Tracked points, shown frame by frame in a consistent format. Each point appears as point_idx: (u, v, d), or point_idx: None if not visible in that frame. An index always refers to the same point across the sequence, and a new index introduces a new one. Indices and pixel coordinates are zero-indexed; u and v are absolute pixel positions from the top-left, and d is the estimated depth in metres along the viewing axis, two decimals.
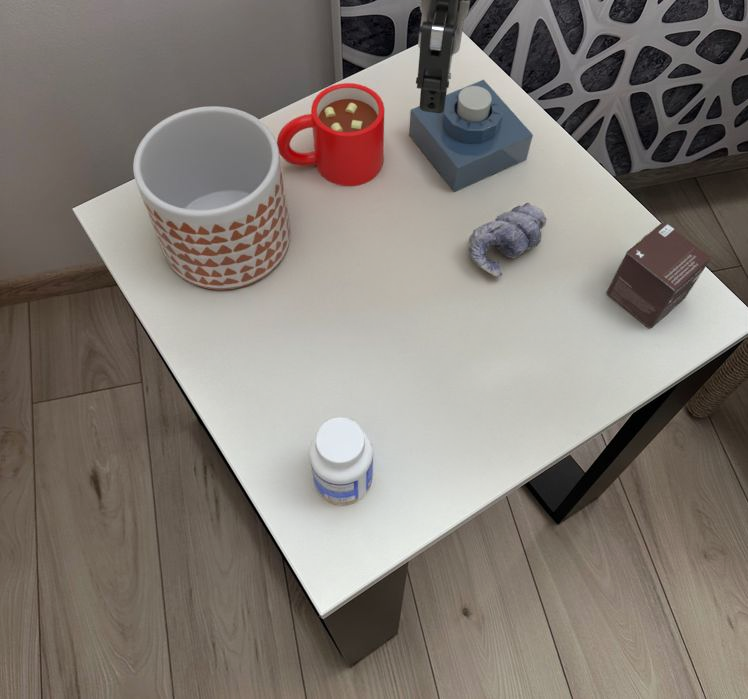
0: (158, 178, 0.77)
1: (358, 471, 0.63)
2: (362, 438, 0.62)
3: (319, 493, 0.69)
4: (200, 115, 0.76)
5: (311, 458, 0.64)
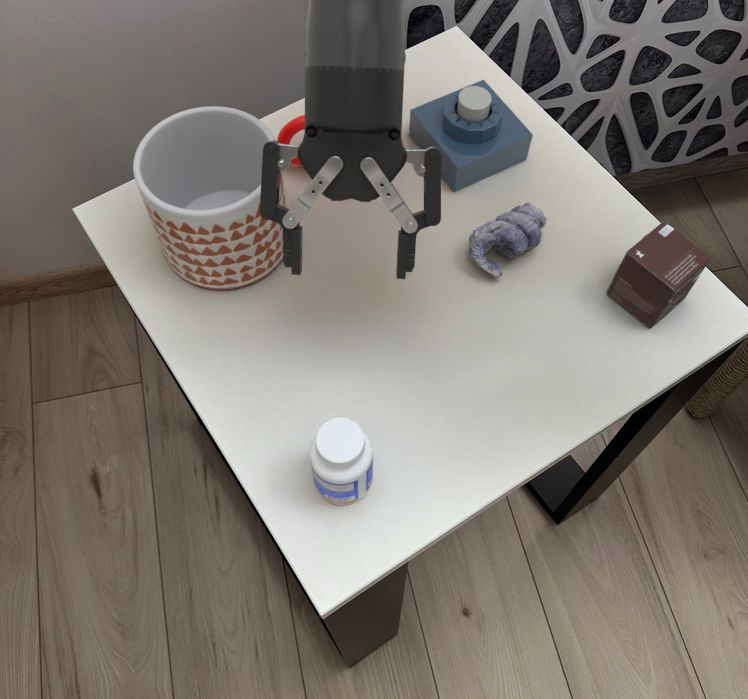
0: (158, 178, 0.77)
1: (358, 471, 0.63)
2: (362, 438, 0.62)
3: (319, 493, 0.69)
4: (200, 115, 0.76)
5: (311, 458, 0.64)
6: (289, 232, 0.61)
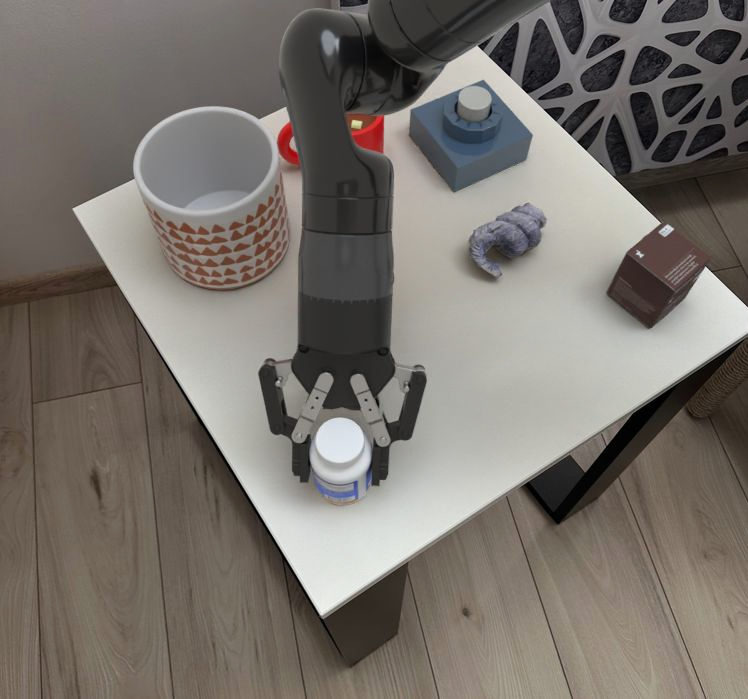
0: (158, 178, 0.77)
1: (357, 471, 0.63)
2: (362, 438, 0.62)
3: (319, 493, 0.69)
4: (200, 115, 0.76)
5: (311, 458, 0.64)
6: (298, 444, 0.64)
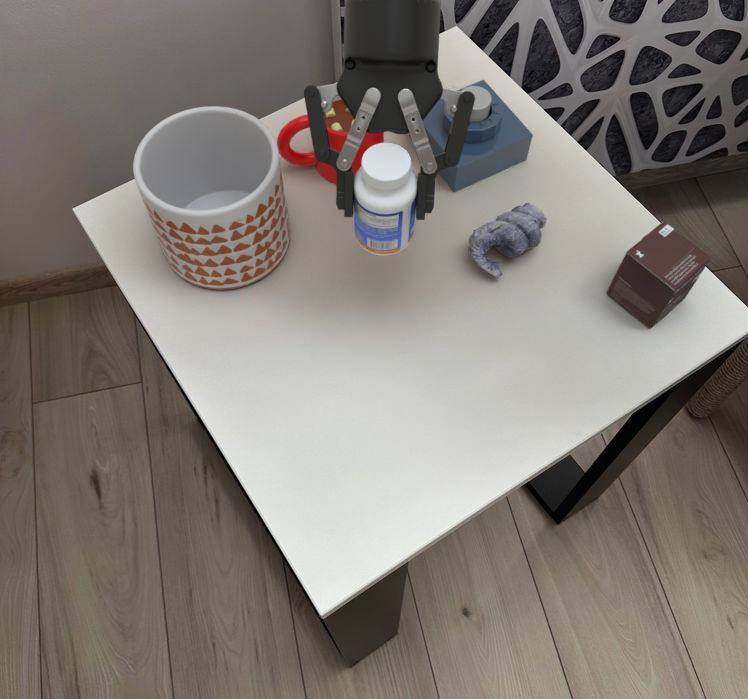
0: (158, 178, 0.77)
1: (403, 198, 0.62)
2: (409, 160, 0.61)
3: (360, 244, 0.68)
4: (200, 115, 0.76)
5: (356, 188, 0.63)
6: (342, 175, 0.63)
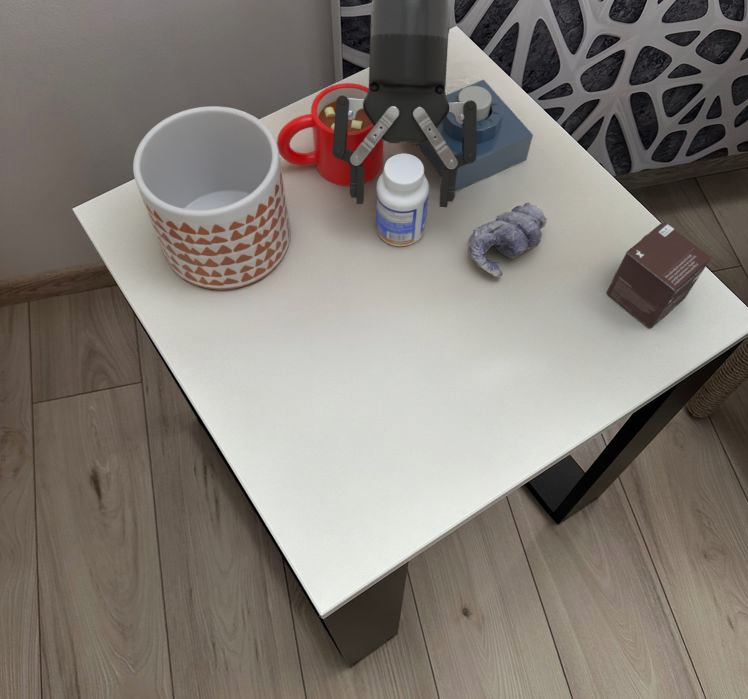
0: (158, 178, 0.77)
1: (417, 198, 0.77)
2: (422, 167, 0.76)
3: (381, 237, 0.83)
4: (200, 115, 0.76)
5: (379, 190, 0.78)
6: (355, 169, 0.77)
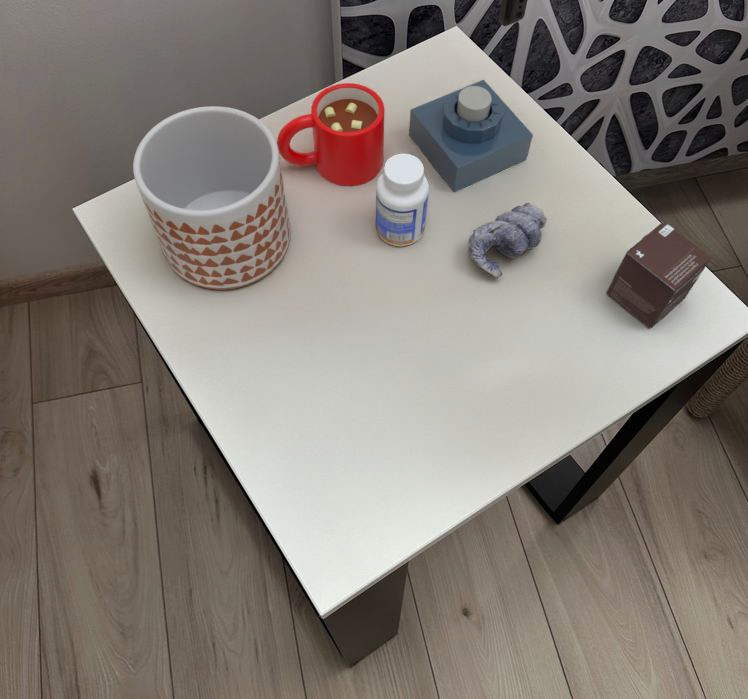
0: (158, 178, 0.77)
1: (417, 198, 0.77)
2: (422, 167, 0.76)
3: (381, 237, 0.83)
4: (200, 115, 0.76)
5: (379, 190, 0.78)
6: None
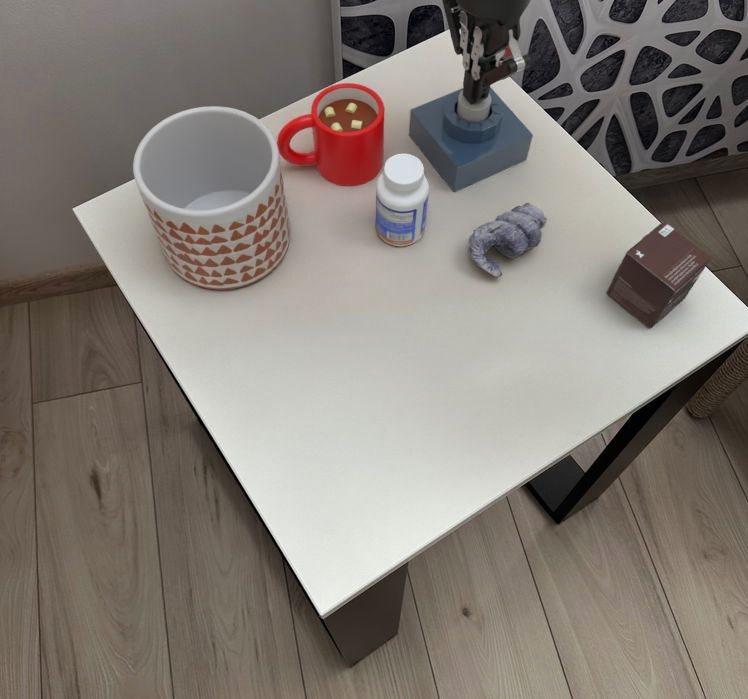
0: (158, 178, 0.77)
1: (417, 198, 0.77)
2: (422, 167, 0.76)
3: (381, 237, 0.83)
4: (200, 115, 0.76)
5: (379, 190, 0.78)
6: None
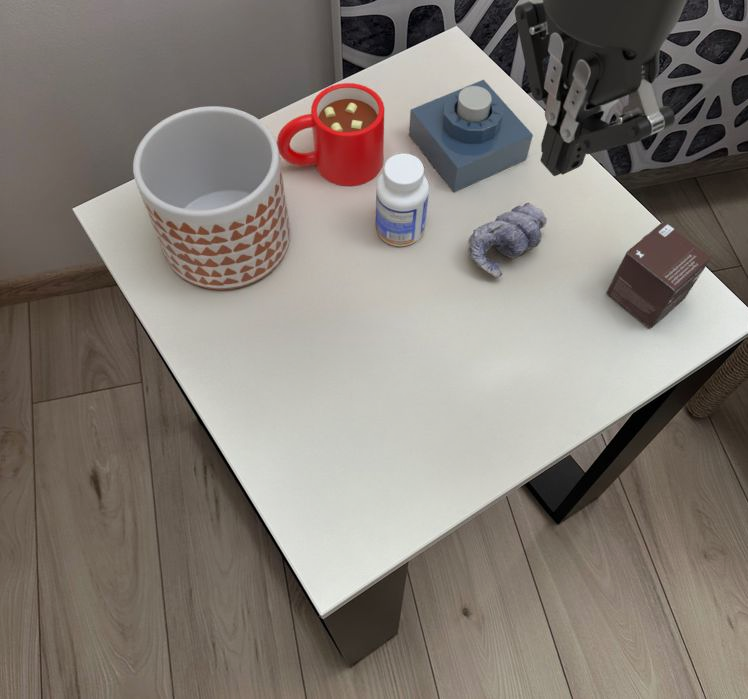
0: (158, 178, 0.77)
1: (417, 198, 0.77)
2: (422, 167, 0.76)
3: (381, 237, 0.83)
4: (200, 115, 0.76)
5: (379, 190, 0.78)
6: None
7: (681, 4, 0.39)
